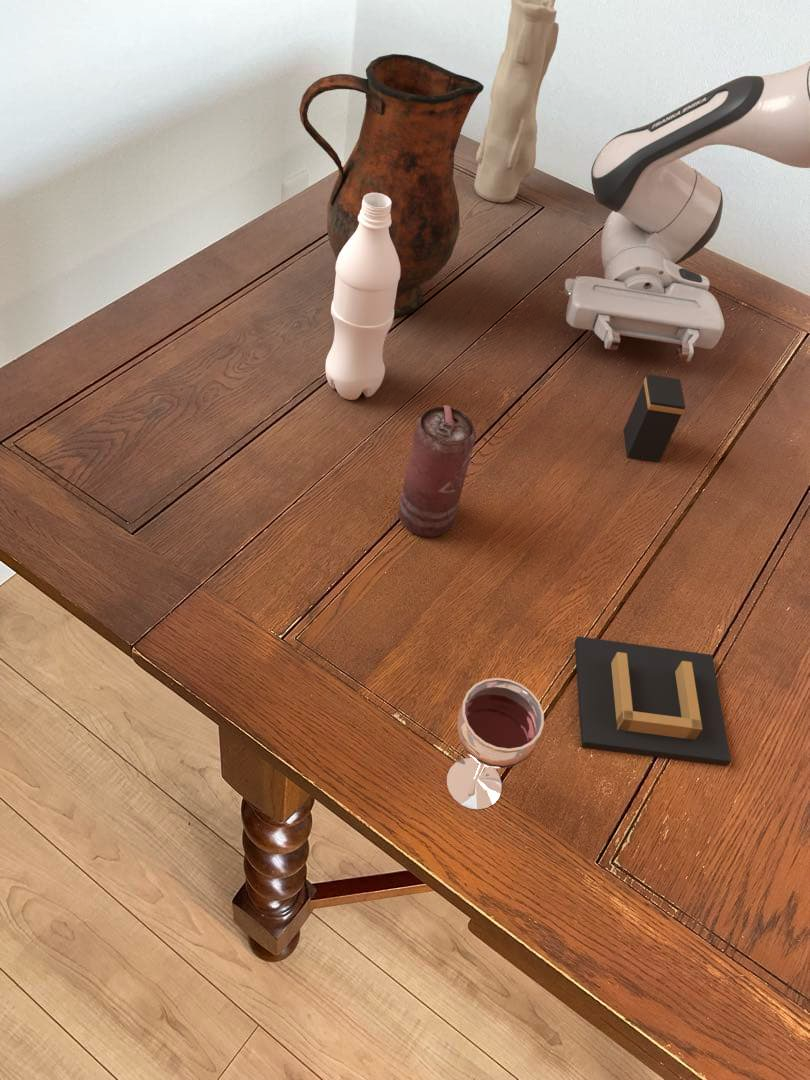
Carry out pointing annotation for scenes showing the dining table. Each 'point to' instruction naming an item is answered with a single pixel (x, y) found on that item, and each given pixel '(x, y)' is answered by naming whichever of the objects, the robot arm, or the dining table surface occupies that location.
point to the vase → (516, 101)
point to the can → (436, 470)
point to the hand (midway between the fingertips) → (649, 351)
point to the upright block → (653, 418)
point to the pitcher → (402, 162)
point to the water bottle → (363, 302)
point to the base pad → (649, 701)
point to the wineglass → (493, 738)
